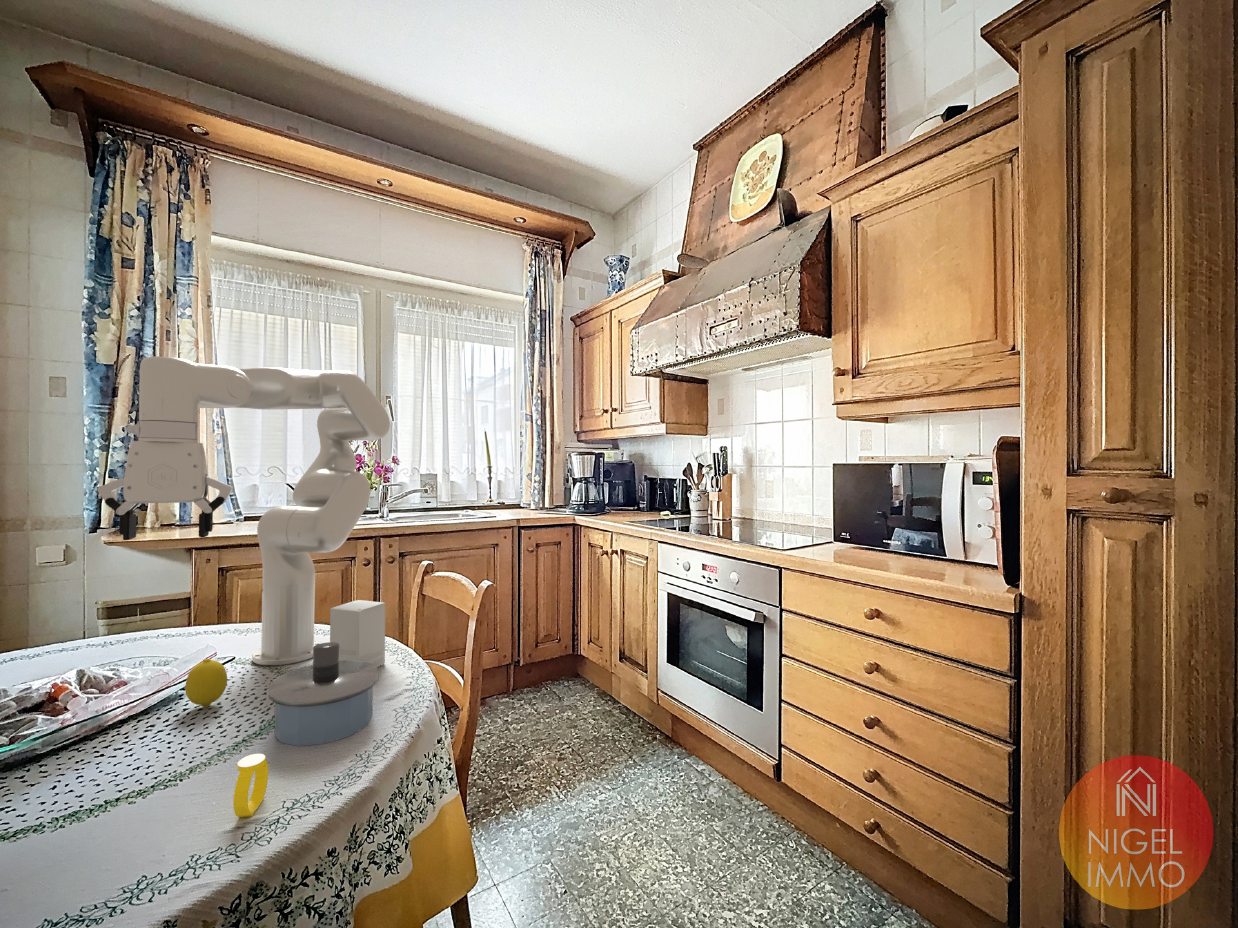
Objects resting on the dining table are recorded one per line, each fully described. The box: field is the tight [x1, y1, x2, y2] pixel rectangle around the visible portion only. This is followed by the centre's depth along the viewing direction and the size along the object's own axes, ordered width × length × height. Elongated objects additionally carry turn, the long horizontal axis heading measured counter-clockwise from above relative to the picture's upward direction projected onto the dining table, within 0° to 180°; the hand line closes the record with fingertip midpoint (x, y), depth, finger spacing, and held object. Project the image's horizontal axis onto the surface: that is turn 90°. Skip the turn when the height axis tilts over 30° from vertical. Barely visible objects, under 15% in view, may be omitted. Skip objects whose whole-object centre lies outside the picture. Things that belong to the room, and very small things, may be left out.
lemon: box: [184, 658, 228, 708], centre depth 90 cm, size 6×6×8 cm
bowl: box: [274, 686, 374, 747], centre depth 84 cm, size 13×13×6 cm
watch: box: [233, 753, 269, 818], centre depth 64 cm, size 6×3×6 cm, turn 13°
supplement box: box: [329, 599, 386, 668], centre depth 108 cm, size 7×7×13 cm
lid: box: [268, 641, 379, 707], centre depth 84 cm, size 15×15×6 cm
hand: (167, 537), depth 88 cm, fingers open, 9 cm apart
